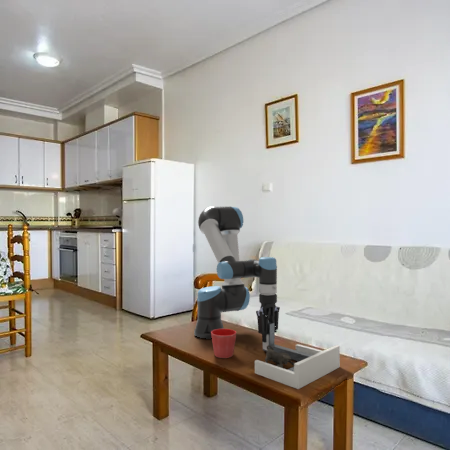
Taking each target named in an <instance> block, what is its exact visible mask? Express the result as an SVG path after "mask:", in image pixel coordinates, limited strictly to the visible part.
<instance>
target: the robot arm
mask: <svg viewBox="0 0 450 450" xmlns="http://www.w3.org/2000/svg"><path fill="white" fill-rule="evenodd" d="M197 223H198V224H197V225H198V228H199V231H200V232H201V233H202V234H203V235H204V236H205V238H206V240H207V243H208V245H209V247H210V248H211V251H212V253H213V255H214V256H215V259H216V262H217V266H216V275H217V277H218V278H219V279H220V280H224V281H223V283H222V284H221V286H219V285H213V286H206V287H202V288H200V289H199V290H198V291H197V297H196V298H197V299H196V301H197V320H196V324H195V328H194V331H193V332H194V333H193V336H194V335H195V336H197V337H200V338H199V339H201V338H206V339H205V340H212V339H211V338H212V336H211V332H212V331H213V330H216V329H225V328H224V324H223V320H222V313H229V312H238V311H244V310H245V309H247V307H248V306H249V305H250V300H251V299H250V298H251V297H250V296H251V294H250V291H249V288H248V287H247V286H245V283H244V282H243V281H242V279H243V278H244V279H245V278H246V279H248V278H257V279H258V281H259V282H258V292H259V295H258V297H259V298H258V299H259V300H258V302H259V303H260V306H259V307H260V309H259V310H256V311H255V313H256V317H257V318H256V319H257V332H258V334H261V342H262V350H263V349H264V350H267V346H268V345H269V335H268V334H267V331H268V322H272V323H274V340H275V336H276V335H275V333H277V332H278V330H279V319H280V318H279V315H280V306H276V305H277V302H278V295H277V292H278V290H277V287H278V286H277V284H278V283H277V282H278V277H277V276H278V269H277V268H278V265H277V259H276V257H274V256H273V257H271V256H263V257H262V256H261V257H260V258H258V259H249V260H240V255H239V254H240V250H239V238H238V236H239V233H240V232H241V228H242V227H244V215H243V213H242V211H241V210H240V208H239V207H236V206H209V207H206V208H205V209H203V210H202V211H201V213H200V214H199V217H198V221H197ZM264 331H265V332H264ZM195 336H194V337H195ZM197 337H196V338H197ZM268 348H269V347H268Z"/></svg>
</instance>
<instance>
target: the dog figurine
mask: <svg viewBox="0 0 450 450" xmlns="http://www.w3.org/2000/svg"><path fill="white" fill-rule="evenodd" d="M268 347H270V348H271V349H269V348H268ZM271 361H272V362H273V363H274V364H276V366H277V367H280V368H284V365H288V364H289V363H290V364H291V366H293V367H294V364H295V363H296V362H294V361H292V359H291V357H290V356H289V355H288V354H287V353H278V352H275V351H274V350H273V348H272V347H271V346H269V345H268V346H267V352H266V354H265V358H264V362H265V363H268V364H269V362H271Z"/></svg>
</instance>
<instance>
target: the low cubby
mask: <svg viewBox="0 0 450 450" xmlns="http://www.w3.org/2000/svg"><path fill="white" fill-rule="evenodd" d="M340 349H341V347H340V345H337V344H335V345H332V346H331V347H329V348H327V349H324V350H321V349H318V348H314V347H310V346H307V345H304V344H303V345H302V344H300V343H299V344H295V350H296V351H300V352H303V353H307V354H311V355H313V356H310V357H308V358H306V359H304V360H301V361H297V362H294V363H295V364H294V366H293V367H294V372H293V371H290V370H288V369H286V368H284V367H283V368H280V367H278V366H277V365H274V364H271V363H269V362H268V363H266V362H265V361H262V360H259V359H256V360H254V374H256V375H258V376H262V377H264V378H267V379H269V380H272V381H275V382H278V383H279V384H282V385H285V386H288V387H291V388H294V389H297V390H300V389H301V388H303V387H305V386H307V385H308V384H310V383H313V382H315V381H316V380H318V379H320V378H322V377H324V376H326V375H327V374H330V373H332V372H333V371H336V370H337V369H339V368H340V363H341V362H340V361H341V359H340V358H341V356H340V352H341V351H340Z"/></svg>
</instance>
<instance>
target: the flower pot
mask: <svg viewBox="0 0 450 450" xmlns="http://www.w3.org/2000/svg"><path fill="white" fill-rule="evenodd" d="M211 336H212V339H211V341H212V349H213V353H214V356H215V357H216V358H219V359H227V358H231V357H233V355H234V351H235V345H236V341H237V340H236V339H237V331H236V330H234V329H232V328H224V329H216V330H213V331H212V332H211Z"/></svg>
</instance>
